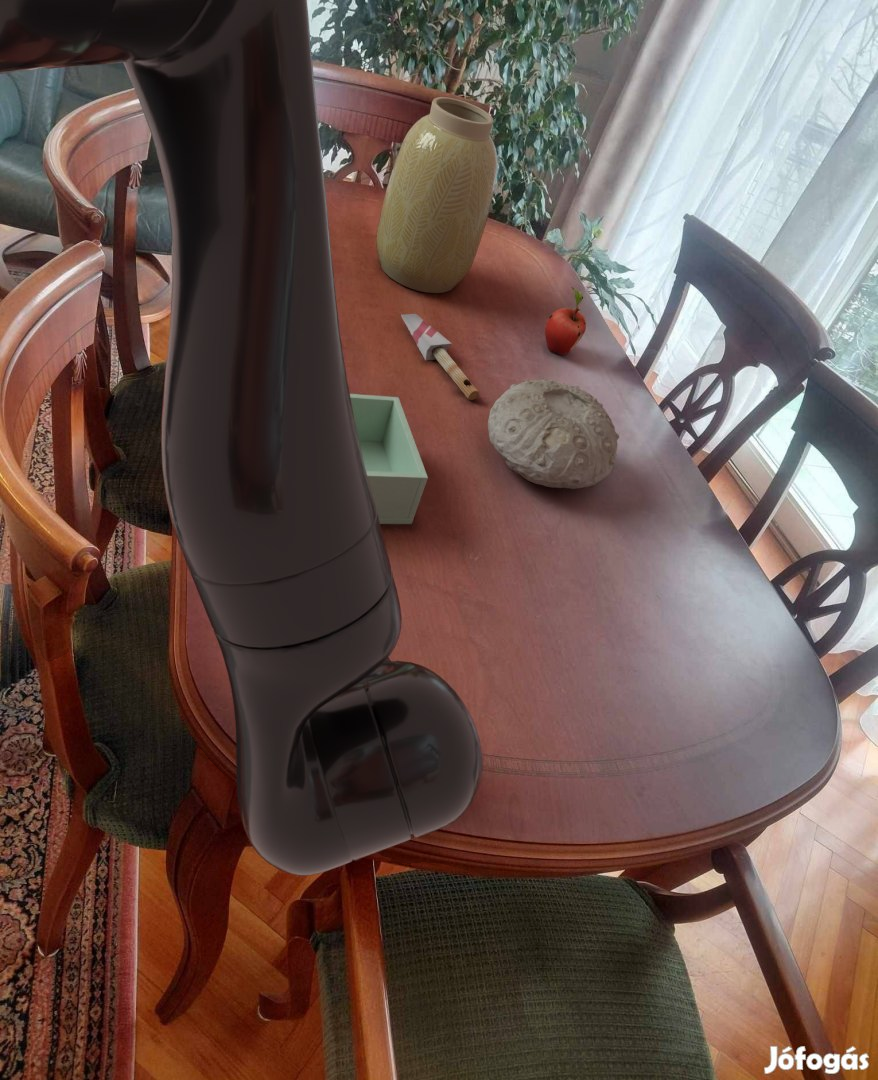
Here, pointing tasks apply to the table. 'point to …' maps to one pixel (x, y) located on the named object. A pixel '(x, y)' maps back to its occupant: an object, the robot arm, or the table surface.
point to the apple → (565, 328)
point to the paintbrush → (438, 352)
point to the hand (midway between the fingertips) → (334, 656)
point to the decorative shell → (553, 434)
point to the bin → (389, 457)
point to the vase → (438, 197)
